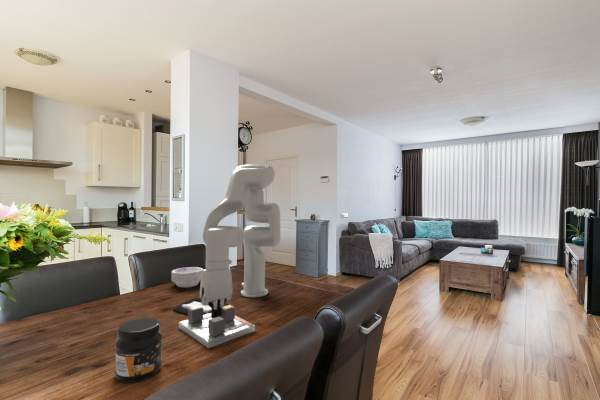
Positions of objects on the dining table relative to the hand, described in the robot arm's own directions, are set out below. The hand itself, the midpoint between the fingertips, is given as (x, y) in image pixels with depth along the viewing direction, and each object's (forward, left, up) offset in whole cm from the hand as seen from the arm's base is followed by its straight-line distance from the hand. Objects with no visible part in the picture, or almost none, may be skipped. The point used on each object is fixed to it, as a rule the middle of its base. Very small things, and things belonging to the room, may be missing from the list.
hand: (216, 319), depth 102 cm
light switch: (-21, +5, -4) cm, 22 cm away
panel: (0, 0, -3) cm, 3 cm away
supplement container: (+9, -27, -4) cm, 29 cm away
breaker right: (+7, -4, -1) cm, 8 cm away
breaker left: (-7, -4, -1) cm, 8 cm away
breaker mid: (0, +4, -1) cm, 4 cm away
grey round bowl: (-58, +17, -4) cm, 61 cm away
